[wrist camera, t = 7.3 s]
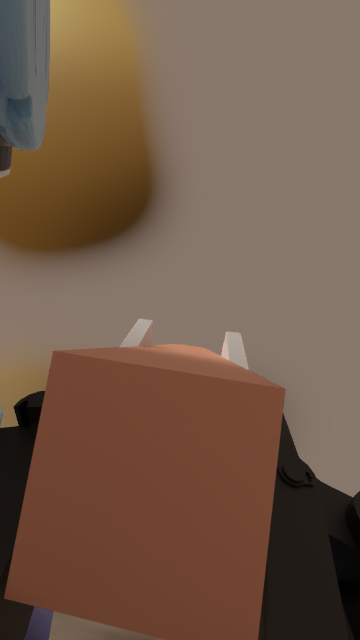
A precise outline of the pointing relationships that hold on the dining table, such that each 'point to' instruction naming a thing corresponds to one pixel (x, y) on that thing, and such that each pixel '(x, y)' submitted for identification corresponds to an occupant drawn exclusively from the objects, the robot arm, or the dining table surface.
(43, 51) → the robot arm
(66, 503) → the pink long bar
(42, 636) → the dining table surface
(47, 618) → the dining table surface
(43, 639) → the dining table surface
